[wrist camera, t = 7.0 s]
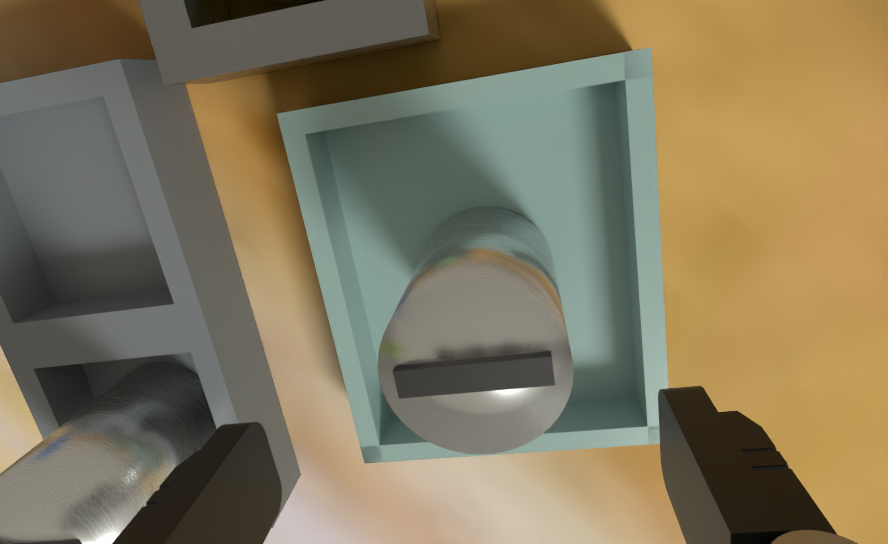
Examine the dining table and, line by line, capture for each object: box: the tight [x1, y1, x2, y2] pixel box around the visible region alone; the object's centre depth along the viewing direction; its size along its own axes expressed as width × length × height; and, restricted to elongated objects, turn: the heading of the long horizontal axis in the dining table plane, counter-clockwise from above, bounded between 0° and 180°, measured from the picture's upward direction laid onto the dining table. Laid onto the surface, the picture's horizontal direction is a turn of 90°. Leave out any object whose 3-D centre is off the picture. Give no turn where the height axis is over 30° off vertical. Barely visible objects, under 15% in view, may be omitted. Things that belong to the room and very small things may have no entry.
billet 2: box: [378, 206, 574, 454], centre depth 18 cm, size 5×5×8 cm
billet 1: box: [0, 362, 217, 544], centre depth 22 cm, size 5×5×8 cm
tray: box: [277, 47, 668, 463], centre depth 21 cm, size 12×14×3 cm
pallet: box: [0, 59, 301, 528], centre depth 24 cm, size 19×9×3 cm, turn 10°
